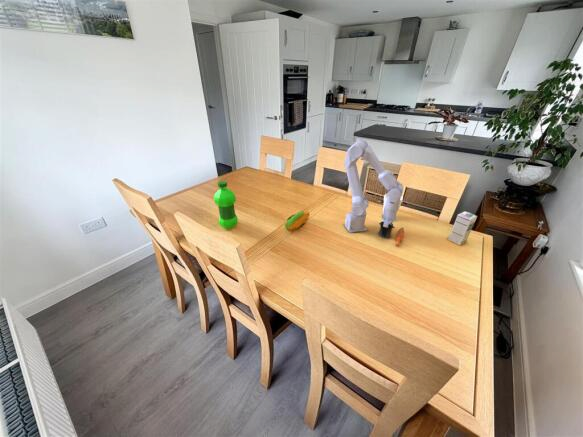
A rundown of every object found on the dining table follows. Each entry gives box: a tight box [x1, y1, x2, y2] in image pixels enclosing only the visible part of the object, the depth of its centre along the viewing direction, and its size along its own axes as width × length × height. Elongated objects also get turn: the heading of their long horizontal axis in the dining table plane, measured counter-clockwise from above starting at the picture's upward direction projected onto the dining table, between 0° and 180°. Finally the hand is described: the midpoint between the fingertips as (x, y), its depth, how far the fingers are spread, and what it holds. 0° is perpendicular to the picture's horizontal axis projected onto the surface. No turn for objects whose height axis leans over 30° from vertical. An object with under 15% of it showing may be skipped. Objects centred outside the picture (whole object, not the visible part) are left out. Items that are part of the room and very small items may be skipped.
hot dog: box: [284, 210, 310, 232], centre depth 124 cm, size 7×8×20 cm
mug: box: [378, 220, 396, 239], centre depth 116 cm, size 6×7×7 cm
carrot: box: [395, 227, 405, 247], centre depth 115 cm, size 16×3×3 cm, turn 150°
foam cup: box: [382, 192, 404, 214], centre depth 129 cm, size 10×9×13 cm
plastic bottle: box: [213, 180, 239, 230], centre depth 118 cm, size 10×10×25 cm
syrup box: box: [447, 211, 478, 246], centre depth 110 cm, size 6×6×14 cm
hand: (385, 232), depth 117 cm, fingers closed on mug, 5 cm apart
